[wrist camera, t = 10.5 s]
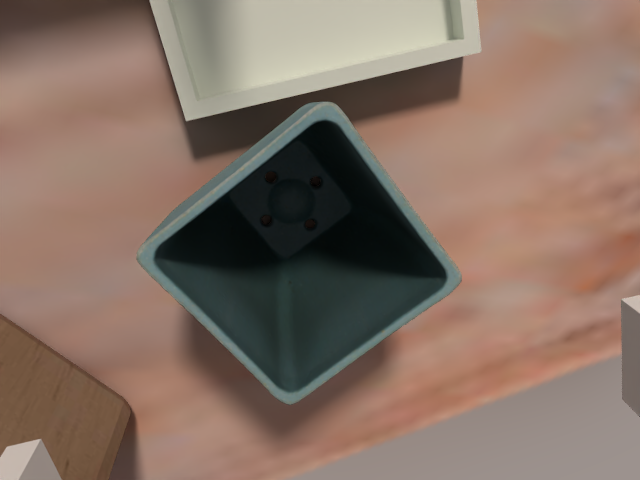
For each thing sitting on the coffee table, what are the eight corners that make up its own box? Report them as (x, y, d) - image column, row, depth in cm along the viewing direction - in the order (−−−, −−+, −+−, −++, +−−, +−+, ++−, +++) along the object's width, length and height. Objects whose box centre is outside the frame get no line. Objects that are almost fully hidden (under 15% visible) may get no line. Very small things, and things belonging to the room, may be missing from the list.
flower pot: (409, 211, 29) (469, 283, 21) (279, 307, 30) (287, 412, 22) (307, 74, 26) (330, 94, 18) (168, 187, 27) (128, 256, 19)
